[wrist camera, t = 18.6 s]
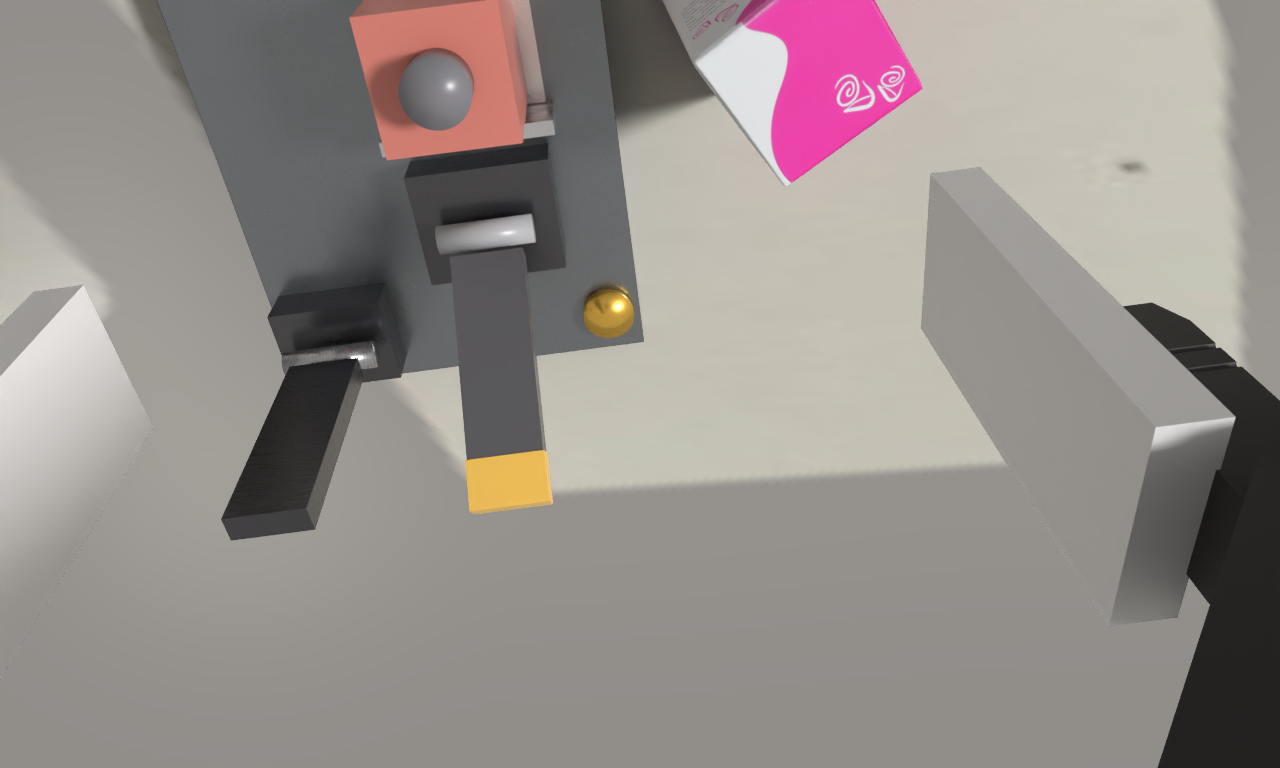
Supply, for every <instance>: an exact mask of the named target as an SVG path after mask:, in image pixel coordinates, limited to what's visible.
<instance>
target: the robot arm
mask: <svg viewBox="0 0 1280 768" xmlns="http://www.w3.org/2000/svg"><path fill="white" fill-rule="evenodd" d="M921 329H922V330H923V332H924V334H925V335H926V337H927V338H928V340H929V342H930V343H931V345H932V346H933V348H934V350H935V351H936V353H937V354H938V356H939V357H940V359H941V361H942V362H943V364H944V365H945V367H946V369H947V370H948V372H949V373H950V375H951V377H952V378H953V380H954V381H955V383H956V384H957V386H958V388H959V389H960V391H961V392H962V394H963V396H964V397H965V399H966V400H967V402H968V403H969V405H970V407H971V408H972V410H973V411H974V413H975V415H976V416H977V418H978V419H979V421H980V423H981V424H982V426H983V427H984V429H985V430H986V432H987V434H988V435H989V437H990V438H991V440H992V442H993V443H994V445H995V446H996V448H997V449H998V451H999V453H1000V454H1001V456H1002V457H1003V459H1004V461H1005V462H1006V464H1007V465H1008V467H1009V469H1010V470H1011V472H1012V473H1013V475H1014V476H1015V478H1016V479H1017V481H1018V483H1019V484H1020V486H1021V488H1022V489H1023V491H1024V492H1025V494H1026V495H1027V497H1028V498H1029V500H1030V502H1031V503H1032V505H1033V507H1034V508H1035V510H1036V511H1037V513H1038V514H1039V516H1040V518H1041V519H1042V521H1043V522H1044V524H1045V526H1046V527H1047V529H1048V530H1049V532H1050V534H1051V535H1052V536H1053V538H1054V540H1055V541H1056V543H1057V545H1058V546H1059V548H1060V549H1061V551H1062V552H1063V554H1064V556H1065V557H1066V559H1067V560H1068V562H1069V564H1070V565H1071V567H1072V568H1073V570H1074V571H1075V573H1076V575H1077V576H1078V578H1079V580H1080V581H1081V583H1082V584H1083V586H1084V587H1085V589H1086V590H1087V592H1088V594H1089V595H1090V597H1091V599H1092V600H1093V602H1094V603H1095V605H1096V607H1097V608H1098V610H1099V611H1100V613H1101V614H1102V616H1103V618H1104V619H1105V621H1106V622H1107V624H1108V626H1115V625H1122V624H1130V623H1138V622H1145V621H1152V620H1161V619H1169V618H1176V617H1178V614H1179V610H1180V607H1181V603H1182V600H1183V596H1184V593H1185V590H1186V586H1187V583H1188V579H1189V578H1190V579H1191V580H1192V582H1193V583H1194V585H1195V586H1196V587H1197V588H1198V590H1199V591H1200V592H1201V594H1202V595H1203V596H1204V598H1205V599H1206V600H1207V602H1208V603H1209V604H1210V607H1209V610H1208V613H1207V616H1206V619H1205V623H1204V626H1203V629H1202V632H1201V635H1200V638H1199V641H1198V644H1197V647H1196V651H1195V653H1194V657H1193V660H1192V663H1191V666H1190V669H1189V672H1188V675H1187V678H1186V681H1185V684H1184V688H1183V691H1182V694H1181V697H1180V700H1179V703H1178V706H1177V709H1176V713H1175V715H1174V719H1173V722H1172V725H1171V728H1170V731H1169V734H1168V737H1167V740H1166V743H1165V746H1164V750H1163V753H1162V756H1161V759H1160V762H1159V765H1158V768H1280V401H1279V400H1278V399H1277V398H1276V397H1275V396H1274V395H1273V394H1272V393H1270V392H1269V391H1268V390H1267V389H1266V388H1265V387H1264V386H1263V385H1262V384H1260V383H1259V382H1258V381H1257V380H1256V379H1255V378H1254V377H1253V376H1252V375H1250V374H1249V373H1248V372H1247V371H1246V370H1245V369H1244V368H1243V367H1237V365H1236V361H1235V360H1234V359H1233V358H1231V357H1230V356H1229V355H1228V354H1227V353H1226V352H1225V351H1224V350H1223V349H1221V348H1216V346H1215V342H1214V341H1212V340H1211V339H1210V338H1209V337H1208V336H1207V335H1206V334H1205V333H1204V332H1202V331H1201V330H1200V329H1199V328H1198V327H1197V326H1196V325H1195V324H1193V323H1192V322H1191V321H1190V320H1188V319H1186V318H1184V317H1182V316H1179V315H1177V314H1175V313H1173V312H1171V311H1169V310H1167V309H1164V308H1162V307H1160V306H1158V305H1156V304H1154V303H1146V304H1138V305H1130V306H1122V305H1121V304H1120V303H1119V302H1118V301H1117V300H1116V299H1115V298H1114V297H1113V296H1112V295H1110V294H1109V293H1108V292H1107V291H1106V290H1105V289H1104V288H1103V287H1102V286H1101V285H1100V284H1099V283H1098V282H1097V281H1096V280H1095V279H1094V278H1093V277H1092V276H1091V275H1090V274H1089V273H1088V272H1087V271H1086V270H1085V269H1084V268H1083V267H1082V266H1081V265H1080V264H1079V263H1078V262H1077V261H1076V260H1075V259H1074V258H1073V257H1072V256H1071V255H1070V254H1069V253H1068V252H1066V251H1065V250H1064V249H1063V248H1062V247H1061V246H1060V245H1059V244H1058V243H1057V242H1056V241H1055V240H1054V239H1053V238H1052V237H1051V236H1050V235H1049V234H1048V233H1047V232H1046V231H1045V230H1044V229H1043V228H1042V227H1041V226H1040V225H1039V224H1038V223H1037V222H1036V221H1035V220H1034V219H1033V218H1032V217H1031V216H1030V215H1029V214H1028V213H1027V212H1026V211H1025V210H1023V209H1022V208H1021V207H1020V206H1019V205H1018V204H1017V203H1016V202H1015V201H1014V200H1013V199H1012V198H1011V197H1010V196H1009V195H1008V194H1007V193H1006V192H1005V191H1004V190H1003V189H1002V188H1001V187H1000V186H999V185H998V184H997V183H996V182H995V181H994V180H993V179H992V178H991V177H990V176H989V175H988V174H987V173H986V172H985V171H984V170H983V169H982V168H981V167H977V168H970V169H962V170H955V171H947V172H939V173H932V174H930V190H929V207H928V223H927V239H926V255H925V272H924V288H923V304H922V321H921ZM152 430H153V427H152V425H151V423H150V421H149V418H148V416H147V414H146V413H145V410H144V408H143V406H142V404H141V402H140V400H139V398H138V396H137V394H136V392H135V390H134V388H133V386H132V384H131V382H130V380H129V378H128V376H127V374H126V371H125V369H124V367H123V365H122V363H121V361H120V359H119V357H118V355H117V353H116V351H115V349H114V347H113V345H112V343H111V341H110V339H109V337H108V335H107V333H106V331H105V329H104V327H103V325H102V322H101V320H100V318H99V316H98V314H97V312H96V310H95V308H94V306H93V304H92V302H91V300H90V298H89V296H88V294H87V292H86V290H85V288H84V286H83V285H80V286H73V287H65V288H57V289H50V290H42V291H35V292H33V293H32V294H31V295H30V296H29V297H28V298H27V299H26V300H25V301H24V302H23V303H22V304H21V305H20V306H19V307H18V308H17V309H16V310H15V311H14V312H13V313H12V314H11V315H10V316H9V317H8V318H7V319H6V320H5V321H4V322H3V323H2V324H1V325H0V680H1V678H2V676H3V675H4V673H5V672H6V670H7V668H8V667H9V665H10V663H11V662H12V660H13V658H14V657H15V655H16V654H17V652H18V650H19V649H20V647H21V645H22V644H23V642H24V640H25V639H26V637H27V635H28V634H29V632H30V631H31V629H32V627H33V626H34V624H35V622H36V621H37V619H38V617H39V616H40V614H41V612H42V611H43V609H44V607H45V606H46V604H47V603H48V601H49V599H50V598H51V596H52V594H53V593H54V591H55V590H56V588H57V586H58V585H59V583H60V581H61V580H62V578H63V576H64V575H65V573H66V571H67V570H68V568H69V567H70V565H71V563H72V562H73V560H74V558H75V557H76V555H77V553H78V552H79V550H80V548H81V547H82V545H83V544H84V542H85V540H86V539H87V537H88V535H89V534H90V532H91V530H92V529H93V527H94V526H95V524H96V522H97V521H98V519H99V517H100V516H101V514H102V512H103V511H104V509H105V507H106V506H107V504H108V502H109V501H110V499H111V497H112V496H113V494H114V493H115V491H116V489H117V488H118V486H119V484H120V483H121V481H122V480H123V478H124V476H125V475H126V473H127V471H128V470H129V468H130V466H131V465H132V463H133V461H134V460H135V458H136V457H137V455H138V453H139V452H140V450H141V448H142V447H143V445H144V443H145V442H146V440H147V439H148V437H149V435H150V434H151V432H152Z"/></svg>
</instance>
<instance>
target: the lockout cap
mask: <svg viewBox="0 0 1280 768" xmlns="http://www.w3.org/2000/svg"><path fill="white" fill-rule="evenodd" d="M349 19H350V23H351V26H352V30H353V34H354V38H355V42H356V45H357V49H358V53H359V57H360V61H361V64H362V68H363V72H364V76H365V80H366V83H367V87H368V91H369V95H370V99H371V102H372V106H373V110H374V114H375V118H376V121H377V125H378V129H379V133H380V137H381V140H382V144H383V148H384V152H385V156H386V159H387V160H394V159H402V158H410V157H418V156H426V155H434V154H442V153H450V152H457V151H465V150H473V149H481V148H489V147H497V146H505V145H513V144H521V143H523V138H524V128H525V118H526V108H527V99H528V92H527V87H526V81H525V75H524V69H523V63H522V57H521V51H520V46H519V40H518V34H517V28H516V22H515V16H514V10H513V5H512V0H363V1H362V3H361V4H360V5H359V6H358V8H357V9H356V10H355V11H354V12H353V14H352V15H351V16H350V17H349Z"/></svg>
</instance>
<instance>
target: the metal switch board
mask: <svg viewBox="0 0 1280 768" xmlns="http://www.w3.org/2000/svg"><path fill="white" fill-rule="evenodd" d="M157 1H158V4H159V7H160V10H161V12H162V15H163V18H164V20H165V23H166V26H167V28H168V31H169V34H170V36H171V39H172V42H173V44H174V47H175V50H176V52H177V55H178V58H179V61H180V63H181V66H182V69H183V71H184V74H185V77H186V79H187V82H188V85H189V87H190V90H191V93H192V95H193V98H194V101H195V103H196V106H197V109H198V111H199V114H200V117H201V120H202V122H203V125H204V128H205V130H206V133H207V136H208V138H209V141H210V144H211V146H212V149H213V152H214V154H215V157H216V160H217V162H218V165H219V168H220V171H221V173H222V176H223V179H224V181H225V184H226V187H227V189H228V192H229V195H230V197H231V200H232V202H233V205H234V208H235V210H236V213H237V216H238V219H239V221H240V224H241V226H242V229H243V232H244V235H245V238H246V240H247V243H248V246H249V248H250V251H251V254H252V256H253V259H254V262H255V264H256V267H257V270H258V272H259V275H260V278H261V281H262V283H263V286H264V289H265V291H266V294H267V297H268V299H269V302H270V304H271V307H272V310H271V312H270V314H269V316H268V320H269V323H270V326H271V328H272V331H273V333H274V336H275V339H276V341H277V344H278V347H279V349H280V352H281V355H282V367H283V371H284V373H285V378H284V380H283V383H282V385H281V387H280V389H279V391H278V394H277V396H276V398H275V400H274V403H273V405H272V407H271V409H270V412H269V414H268V416H267V418H266V420H265V423H264V425H263V427H262V429H261V432H260V434H259V436H258V438H257V440H256V443H255V445H254V447H253V450H252V452H251V454H250V456H249V459H248V461H247V463H246V465H245V467H244V469H243V472H242V474H241V476H240V478H239V481H238V483H237V485H236V488H235V490H234V492H233V494H232V496H231V499H230V501H229V503H228V505H227V507H226V510H225V512H224V514H223V517H222V519H221V520H222V522H223V524H224V526H225V528H226V531H227V533H228V535H229V537H230V539H231V540H238V539H246V538H254V537H261V536H269V535H277V534H284V533H292V532H299V531H307V530H315V527H316V525H317V521H318V518H319V515H320V512H321V509H322V506H323V503H324V500H325V496H326V493H327V490H328V487H329V484H330V481H331V478H332V475H333V471H334V468H335V465H336V462H337V459H338V456H339V453H340V450H341V446H342V443H343V440H344V437H345V434H346V431H347V428H348V424H349V422H350V418H351V415H352V412H353V409H354V406H355V403H356V400H357V396H358V393H359V390H360V387H361V384H362V382H370V381H377V380H385V379H393V378H400V377H401V376H402V373H410V372H417V371H425V370H433V369H440V368H448V367H455V366H459V360H458V348H457V336H456V324H455V312H454V300H453V289H452V277H451V265H450V257H453V256H461V255H469V254H476V253H484V252H491V251H499V250H506V249H514V248H523V251H524V253H525V255H526V262H527V272H528V282H529V291H530V301H531V310H532V320H533V329H534V339H535V349H536V356H539V355H547V354H554V353H562V352H569V351H577V350H585V349H592V348H600V347H607V346H615V345H623V344H630V343H638V342H644V338H643V330H642V322H641V314H640V307H639V299H638V291H637V283H636V275H635V268H634V260H633V252H632V244H631V236H630V228H629V221H628V213H627V205H626V197H625V189H624V181H623V174H622V166H621V158H620V150H619V142H618V134H617V127H616V119H615V111H614V103H613V95H612V87H611V80H610V72H609V64H608V56H607V48H606V40H605V33H604V25H603V17H602V9H601V1H600V0H512V5H513V10H514V16H515V22H516V28H517V34H518V40H519V46H520V51H521V57H522V63H523V69H524V75H525V81H526V87H527V92H528V99H527V108H526V118H525V128H524V138H523V143H521V144H513V145H505V146H497V147H489V148H481V149H473V150H465V151H457V152H450V153H442V154H434V155H426V156H418V157H410V158H402V159H394V160H387V159H386V156H385V152H384V148H383V144H382V140H381V137H380V133H379V129H378V125H377V121H376V118H375V114H374V110H373V106H372V102H371V99H370V95H369V91H368V87H367V83H366V80H365V76H364V72H363V68H362V64H361V61H360V57H359V53H358V49H357V45H356V42H355V38H354V34H353V30H352V26H351V23H350V19H349V17H350V16H351V15H352V14H353V12H354V11H355V10H356V9H357V8H358V6H359V5H360V4H361V3H362V1H363V0H157ZM525 214H532V216H533V220H534V226H535V233H536V242H535V243H528V244H520V245H513V246H505V247H497V248H490V249H482V250H475V251H467V252H460V253H452V254H444V255H440V253H439V251H438V248H437V243H436V237H435V228H436V226H442V225H449V224H457V223H464V222H472V221H479V220H487V219H495V218H502V217H510V216H517V215H525Z"/></svg>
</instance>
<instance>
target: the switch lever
mask: <svg viewBox="0 0 1280 768" xmlns="http://www.w3.org/2000/svg"><path fill="white" fill-rule="evenodd" d="M435 237H436V243H437V248H438V251H439V253H440V255H444V254H452V253H460V252H467V251H475V250H482V249H490V248H497V247H505V246H513V245H520V244H528V243H535V242H536V233H535V226H534V220H533V216H532V214H525V215H517V216H510V217H502V218H495V219H487V220H479V221H472V222H464V223H457V224H449V225H442V226H436V228H435ZM450 265H451V277H452V289H453V300H454V312H455V324H456V336H457V348H458V360H459V372H460V384H461V395H462V407H463V419H464V431H465V443H466V455H467V460H465V461H466V473H467V484H468V497H469V509H470V512H472V513H474V514H480V513H487V512H496V511H503V510H511V509H519V508H526V507H534V506H541V505H549V504H553V498H552V488H551V479H550V469H549V460H548V454H547V453H546V444H545V435H544V425H543V416H542V406H541V396H540V387H539V377H538V368H537V358H536V349H535V339H534V329H533V320H532V310H531V301H530V291H529V282H528V272H527V262H526V255H525V253H524V251H523V248H514V249H506V250H499V251H491V252H484V253H476V254H469V255H461V256H453V257H450Z"/></svg>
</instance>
